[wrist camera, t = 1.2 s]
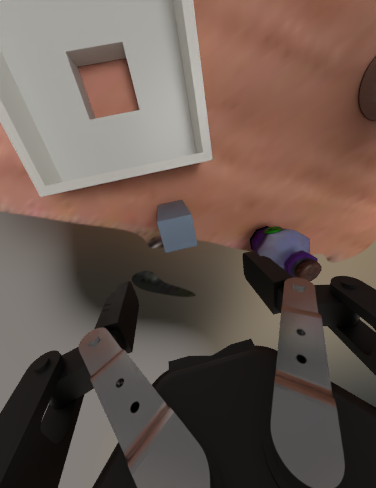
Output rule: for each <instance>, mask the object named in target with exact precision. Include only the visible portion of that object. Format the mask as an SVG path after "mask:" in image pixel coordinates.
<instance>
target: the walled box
mask: <svg viewBox="0 0 376 488" xmlns="http://www.w3.org/2000/svg"><path fill="white" fill-rule="evenodd" d="M124 58H127V62H128V66H129V70H130V74H131V78H132V82H133V86H134V90H135V93H136V97H137V101H138V105H139V109H140V110H137V111H132V112H127V113H122V114H117V115H111V116H106V117H101V118H95V116H94V113H93V110H92V107H91V104H90V101H89V98H88V95H87V92H86V89H85V87H84V84H83V81H82V78H81V75H80V72H79V69H78V67H79V66H85V65H90V64H96V63H102V62H107V61H113V60H118V59H124ZM0 123H1V124H2V126H3V128H4V130H5V132H6V134H7V136H8V137H9V139H10V141H11V143H12V145H13V147H14V149H15V150H16V152H17V154H18V156H19V158H20V160H21V162H22V163H23V165H24V167H25V169H26V171H27V173H28V175H29V176H30V178H31V180H32V182H33V184H34V186H35V188H36V189H37V191H38V193H39V195H40V197H43V196H47V195H52V194H56V193H61V192H66V191H70V190H75V189H80V188H84V187H89V186H94V185H98V184H103V183H107V182H112V181H117V180H121V179H126V178H131V177H135V176H140V175H145V174H149V173H154V172H158V171H163V170H168V169H172V168H177V167H182V166H186V165H191V164H195V163H200V162H205V161H209V160H213V159H212V151H211V143H210V134H209V126H208V118H207V110H206V102H205V94H204V85H203V77H202V69H201V61H200V53H199V45H198V36H197V28H196V20H195V12H194V4H193V0H0Z"/></svg>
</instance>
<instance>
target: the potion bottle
mask: <svg viewBox="0 0 376 488" xmlns="http://www.w3.org/2000/svg"><path fill="white" fill-rule="evenodd" d="M250 244H251V249H252V250H253V251H255V252H256V253H258V254H259V255H260V256H266V257H268V258H270V259H272V260H273V261H274V262H275V263H277V264H278V265H279V266H280V267H282V268H283V269H284V270H285V271H286V272H288V273H289V274H290V275H291V276H293V277H294V278H295V277H297V278H303V279H306V280H308V281H312V280H313V279H315V278H316V277H317V276H318V274H319V273H320V271H321V266H320V264H319V263H318V262H317V258H316V257H314V256H312V255H311V254H310V239H309V238H307V237H306V236H304V235H302V234H300V233H299V232H297V231H295V230H289V229H283V228H281V227H270V228H269V227H268V226H266V227H263V228H260V229H257V230H256V231H255V232H254V234H253V235H252V237H251V239H250Z"/></svg>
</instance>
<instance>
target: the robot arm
mask: <svg viewBox="0 0 376 488" xmlns="http://www.w3.org/2000/svg"><path fill="white" fill-rule="evenodd" d="M359 101H360V107H361V111H362V112H363V114H364V115H365V116H366V117H367V118H368V119H370V120H375V121H376V57H375V58H374V60H373V61H372V63H371V64H370V65H369V67H368V69H367V71H366V73H365V75H364V78H363V80H362V84H361V88H360V95H359ZM243 268H244V275H245V278H246V280H247V281H248V282H249V283H250V285H251V286H252V287H253V289H254V290H255V291H256V293H257V294H258V295H259V296H260V298H261V299H262V300H263V302H264V303H265V304H266V305H267V307H268V308H269V309H270V311H271V312H272V313H273V314H277V313H281V320H280V331H279V342H278V351H276V350H274V349H271V348H268V347H264V346H254V344H253V342H252V340H251V339H249V340H245V341H242V342H239V343H235V344H231V345H230V346H228V347H226V348H224V349H223V350H221V351H219V352H218V353H216V354H214V355H212V356H188V357H184V358H180V359H177V360H174V361H170V362H169V370H168V371H166V372H165V373H163V374H162V375H161V376H160V377H159V378H158V379H157V380H156V381H155V382H154V383H153V384H152V385H151V384H150V382H149V381H148V380H147V378H146V377H145V376H144V375H143V373H142V372H141V371H140V369H139V368H138V367H137V366H136V364H135V363H134V362H133V360H132V359H131V358H130V357H129V355H128V354H127V353H130V352H132V350H133V344H134V337H135V330H136V324H137V317H138V310H139V301H138V298H137V295H136V293H135V290H134V288H133V286H132V283H131V282H130V281H128V282H124V283H120V284H118V286H117V289H116V292H115V293H112V294H111V295H110V296H109V297H108V298H107V300H106V302H105V304H104V307H103V309H102V312H101V314H100V317H99V319H98V322H97V324H96V327H95V329H94V330H92V331H91V332H89V333H88V334H87V335H85V336H84V338H83V339H82V340H81V342H80V344H79V347H77V348H75V349H73V350H72V351H70V352H68V353H66V354H64V355H61V354H60V353H59V352H58V351H50V352H47V353H45V354H44V355H42V356H40V357H39V358H38V359H36V360H35V361H34V362H33V363H32V364H31V365H30V367H29V368H28V369H27V370H26V372H25V374H24V375H23V377H22V379H21V381H20V382H19V384H18V385H17V387H16V389H15V390H14V392H13V393H12V395H11V397H10V398H9V400H8V402H7V403H6V405H5V407H4V408H3V410H2V411H1V413H0V488H58V485H59V482H60V478H61V474H62V471H63V467H64V464H65V461H66V457H67V453H68V450H69V446H70V443H71V439H72V436H73V432H74V429H75V425H76V422H77V418H78V415H79V411H80V408H81V404H82V401H83V397H84V394H85V393H87V392H88V391H90V390H92V389H93V388H94V389H95V391H96V393H97V395H98V398H99V400H100V402H101V404H102V406H103V409H104V411H105V413H106V415H107V417H108V420H109V422H110V424H111V426H112V428H113V431H114V433H115V435H116V437H117V439H118V444H117V446H116V447H115V449H114V451H113V453H112V454H111V456H110V458H109V460H108V462H107V463H106V465H105V467H104V468H103V470H102V472H101V474H100V475H99V477H98V479H97V480H96V482H95V484H94V486H93V487H92V488H376V407H374V406H372V405H371V404H369V403H367V402H365V401H364V400H362V399H360V398H358V397H356V396H355V395H353V394H352V393H350V392H348V391H346V390H345V389H343V388H341V387H340V386H338V385H336V384H334V383H333V382H331V381H330V374H329V367H328V360H327V353H326V345H325V338H324V331H323V326H328V327H329V328H330V329H331V330H332V331H333V332H334V333H335V334H336V335H337V336H338V337H339V338H340V339H341V340H342V341H343V342H344V343H345V344H346V346H347V347H348V348H349V349H350V350H351V351H352V352H353V353H354V354H355V355H356V356H357V357H358V358H359V359H360V360H361V361H362V362H363V363H364V364H365V365H366V366H367V367H368V368H369V369H370V370H371V371H372V372H373V373H374V374H375V375H376V332H374V331H373V330H372V329H371V328H369V327H368V326H367V325H366V324H365V323H363V322H362V321H361V320H360V319H359V318H360V317H361V318H363V319H364V320H365V321H366V322H368V323H369V324H370V325H371V326H373V328H374V329H375V330H376V290H375V289H374V288H372V287H370V286H368V285H367V284H365V283H363V282H362V281H360V280H358V279H356V278H352V277H348V276H337V277H334V278H332V279H331V283H330V285H313V283H311V282H310V281H308V280H306V279H303V278H297V277H295V278H294V277H293V276H291V275H290V274H289V273H288V272H286V271H285V270H284V269H283V268H282V267H280V266H279V265H278V264H277V263H275V262H274V261H273V260H272V259H270V258H268V257H266V256H260V255H259V254H258V253H256V252H255V251H250V252H247V253H243ZM48 403H49V406H48ZM47 406H48V408H47ZM46 408H47V410H46ZM45 410H46V413H45V415H44V412H45ZM43 415H44V417H43ZM42 418H43V419H42ZM41 421H42V422H41Z"/></svg>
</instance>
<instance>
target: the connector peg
mask: <svg viewBox="0 0 376 488" xmlns="http://www.w3.org/2000/svg"><path fill="white" fill-rule="evenodd" d="M157 224H158V228H159V231H160V235H161V238H162V242H163V246H164V249H165V252H166V253H168V252H172V251H176V250H180V249H185V248H189V247H193V246H197V240H196V235H195V230H194V224H193V219H192V214H191V213H190V211H189V210H188V208H187V207H186V205H185V204H184V202H183V201H182V200H178V201H174V202H169V203H165V204H161V205H158V213H157Z"/></svg>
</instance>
